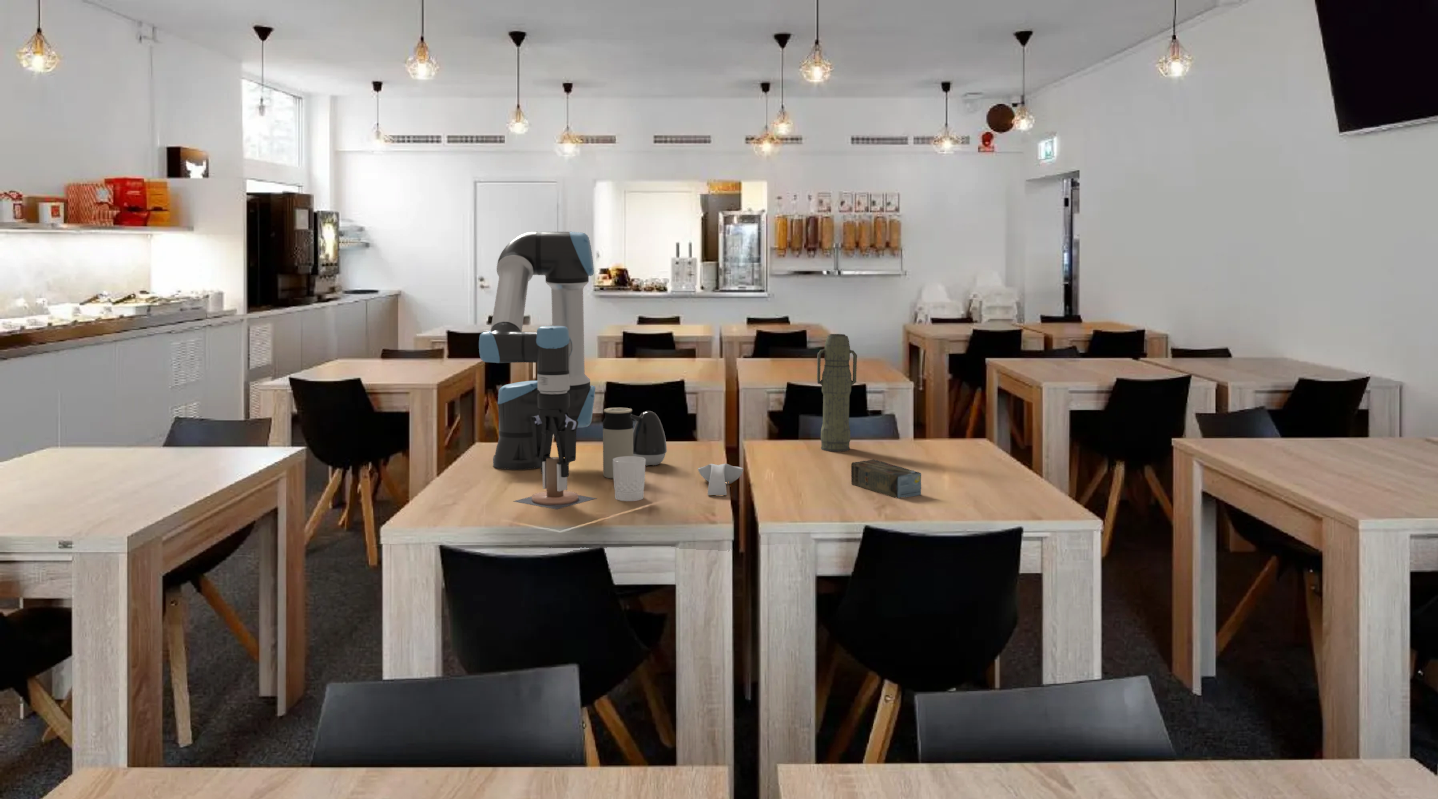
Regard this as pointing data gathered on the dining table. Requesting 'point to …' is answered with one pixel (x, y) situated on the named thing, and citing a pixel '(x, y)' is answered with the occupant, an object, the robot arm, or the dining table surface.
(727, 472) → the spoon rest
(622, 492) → the white cup
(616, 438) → the travel mug
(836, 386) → the thermos
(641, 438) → the pump dispenser
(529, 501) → the mat
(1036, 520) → the dining table surface
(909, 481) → the beverage carton
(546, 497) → the lid
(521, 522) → the dining table surface
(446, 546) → the dining table surface
